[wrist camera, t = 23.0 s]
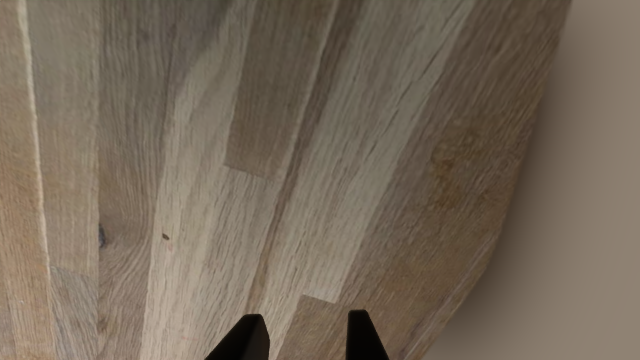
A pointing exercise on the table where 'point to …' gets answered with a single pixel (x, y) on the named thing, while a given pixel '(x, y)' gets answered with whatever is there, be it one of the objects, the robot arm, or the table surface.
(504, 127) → the table surface
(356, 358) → the robot arm
